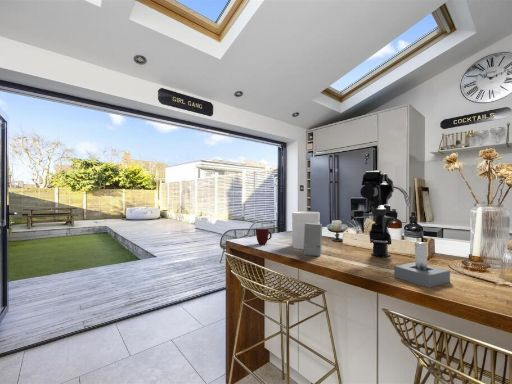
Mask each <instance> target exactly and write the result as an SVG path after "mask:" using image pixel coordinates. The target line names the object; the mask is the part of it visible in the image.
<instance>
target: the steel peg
mask: <svg viewBox="0 0 512 384" xmlns="http://www.w3.org/2000/svg"><path fill="white" fill-rule="evenodd" d="M414 256H415V257H414V259H415V260H414V262H415V269H418V270H421V271H427V265H428V245H427V242H421V241H415V242H414Z"/></svg>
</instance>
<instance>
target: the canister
mask: <svg viewBox="0 0 512 384" xmlns="http://www.w3.org/2000/svg"><path fill="white" fill-rule="evenodd" d="M320 215H321V214H320V212H319V211H292V212H291V246H293V247H292V248H294V249H298V250H304V231H305V223H316V224H321V223H320V219H321V217H320Z"/></svg>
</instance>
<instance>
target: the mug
mask: <svg viewBox="0 0 512 384" xmlns="http://www.w3.org/2000/svg"><path fill="white" fill-rule="evenodd" d="M255 236H256V240H257V244H258V245H259V244H260V246H265V244H267V243H268V241H269V240H271V239H272V233H271V231H270V228H269V227H264V226H263V227H262V226H261V227H256V228H255Z"/></svg>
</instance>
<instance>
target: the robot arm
mask: <svg viewBox="0 0 512 384" xmlns="http://www.w3.org/2000/svg"><path fill="white" fill-rule="evenodd" d="M384 182H386V183H384ZM361 186H362V187H361V189H360V196H361V197H362V198H364V199H366V200H365V203H366V209H365V211H363V210H358V209H354V210H353V209H352V210H351V211H350V217H353V219H355V220H356V221H357V224H358V225H359V227H360V231H361V232H362V233H365V225H364V223H365V222H364V220H365V217H369V216H370V217H371V216H373V217H375V216H376V219H375V222H374V223H372V224H371V226H370V227H371V230H369V234H368V236H369V242H370V243H371V244H373V245H372V253H370V255H371V256H375V257H378V258H387V257H391V254H388V246H390V245H392V236H391V234H390V232H389V230H388V229H389V228H388V226H389V224H390V222H391V221H392V220H395V218H398V214H399V213H398V211H397V210H392V209H391V204H389V200H390V198H392V197H393V193H394V191H395V188H394V187H395V185H394V181H393V180H392V179H390V178H389V175H388V173H385V172H384V173H383V172H382V171H381V170H369V171H368V170H367V171H365V172H364V173H363V177H362V180H361ZM364 216H365V217H364Z"/></svg>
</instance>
